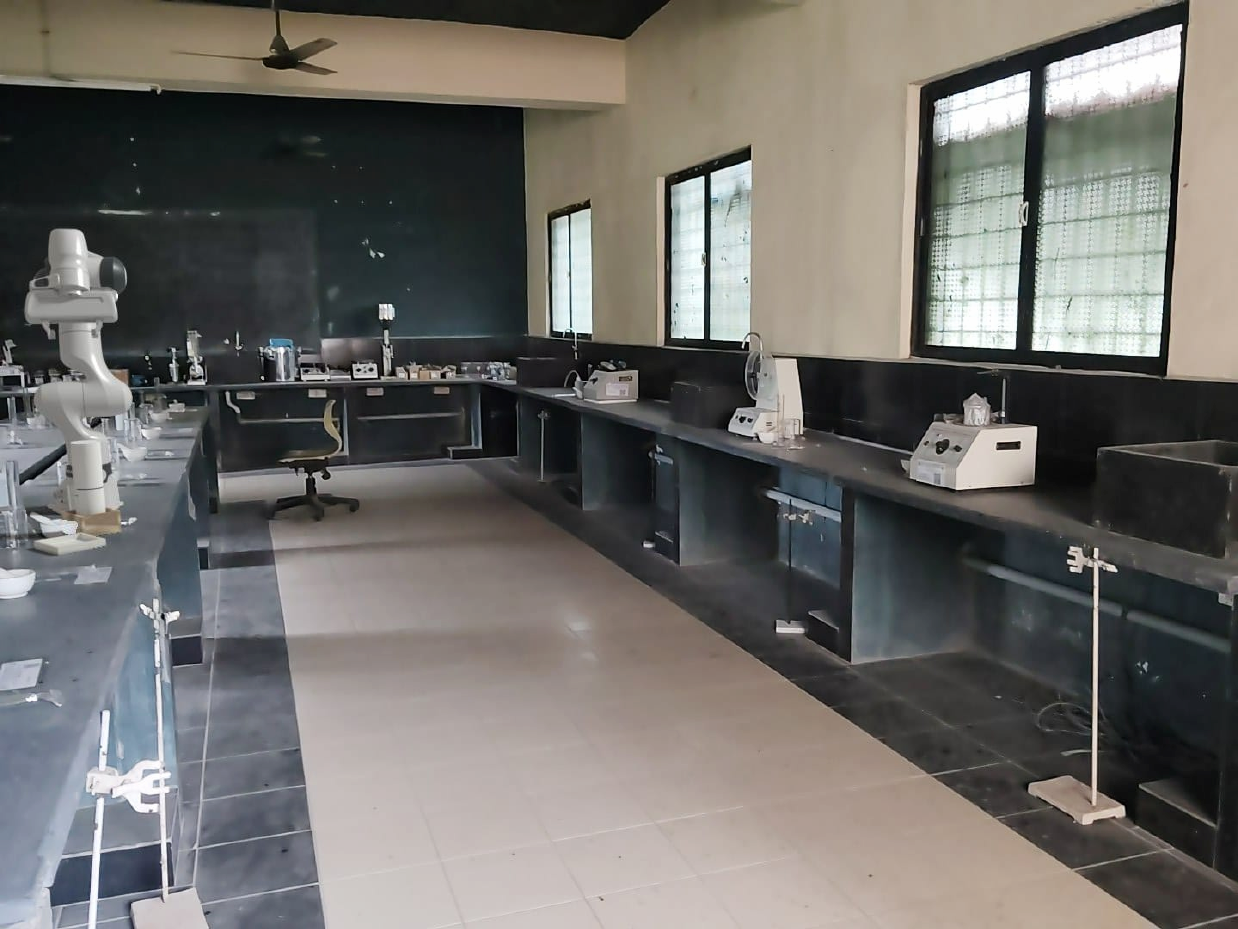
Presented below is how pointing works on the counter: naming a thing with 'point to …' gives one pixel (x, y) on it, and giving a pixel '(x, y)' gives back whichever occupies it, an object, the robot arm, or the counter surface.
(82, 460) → the cylindrical container
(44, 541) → the tray
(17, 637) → the counter surface
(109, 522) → the holder
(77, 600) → the counter surface
